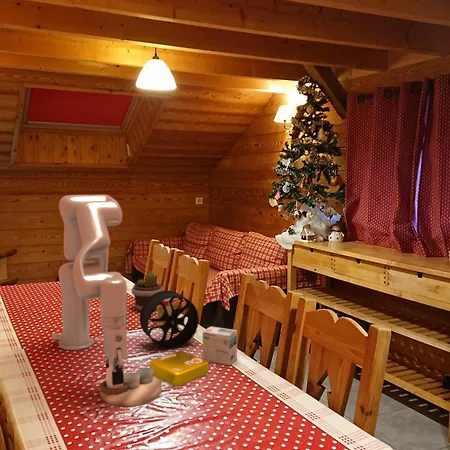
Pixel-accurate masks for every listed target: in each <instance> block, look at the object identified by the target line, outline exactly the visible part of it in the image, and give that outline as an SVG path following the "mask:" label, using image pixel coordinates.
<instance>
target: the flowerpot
mask: <svg viewBox="0 0 450 450" xmlns="http://www.w3.org/2000/svg"><path fill="white" fill-rule="evenodd" d="M142 278H143V277H140V279H138V280H137V281H136V283H135V284H133V287H132V288H131V295H133V297H134V301H135V303H134V307H135V309H136V310H137V311H138V312H141V309H142V307H143V305H144V303H145V302H146V301H147V299H148V298H150V297H151V296H152V295H154V294H155V293H157V292H160V291H164V288H163V286H162V285H161V284H159V283H157V281H156V280H157V276H156V273H154V271H153V270H148V271H147V272H146V273H145V274H144V278H143V279H142ZM153 312H157V307H156V308H155V310H154V311H153Z"/></svg>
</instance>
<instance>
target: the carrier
mask: <svg viewBox="0 0 450 450" xmlns="http://www.w3.org/2000/svg"><path fill="white" fill-rule="evenodd" d="M162 383H163V382H162V380H160V379H158V378H157V377H155V376H153V370H152V369H150V368H149V367H142V368H141V367H140V368H138V369H136V372H127V373H124V383H123V386H122V387H120V388H107V386H106V380H104V381H102V382H101V383H100V386H99V392H100V398H101V399H102V400H103V401H104V402H106V403H107V404H110V405H114V406H117V407H133V406H140V405H141V406H142V405H145V404H148V403H151V402H152V401H154V400H157V399H158V398H159V397H160V395H161V394H162V391H163V389H162V387H163V386H162Z"/></svg>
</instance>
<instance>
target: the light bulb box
mask: <svg viewBox="0 0 450 450" xmlns="http://www.w3.org/2000/svg"><path fill="white" fill-rule="evenodd" d="M202 359H204V360H207V361H208V362H209V363H214V364H215V363H216V364H220V365H225V366H230V365H231V364H233V363H235V361H237V359H238V330H237V329H232V328H231V329H230V328H223V327H218V326H217V327H216V326H209V327H207V328H206V329H204V330H202Z"/></svg>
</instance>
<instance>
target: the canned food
mask: <svg viewBox="0 0 450 450" xmlns="http://www.w3.org/2000/svg"><path fill="white" fill-rule="evenodd" d="M170 299H171V298H168V299H166V300H163V301H162V302H161V303H164V304H165V306H166V309H167V312H168V315H169V316H171V313H172V310H171V307H170V303H169V300H170ZM172 306H173V308H174V309H176V310H177V298H174V299H173V300H172ZM156 313H157V314H156V315H157V316H156V318H161V317H162V315H163V314H164V309H163V307H162V304H159V305H158V306H157V310H156ZM156 323H157V325H156V326H160V325H164V324H166V322H165V321H160V322H156Z"/></svg>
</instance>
